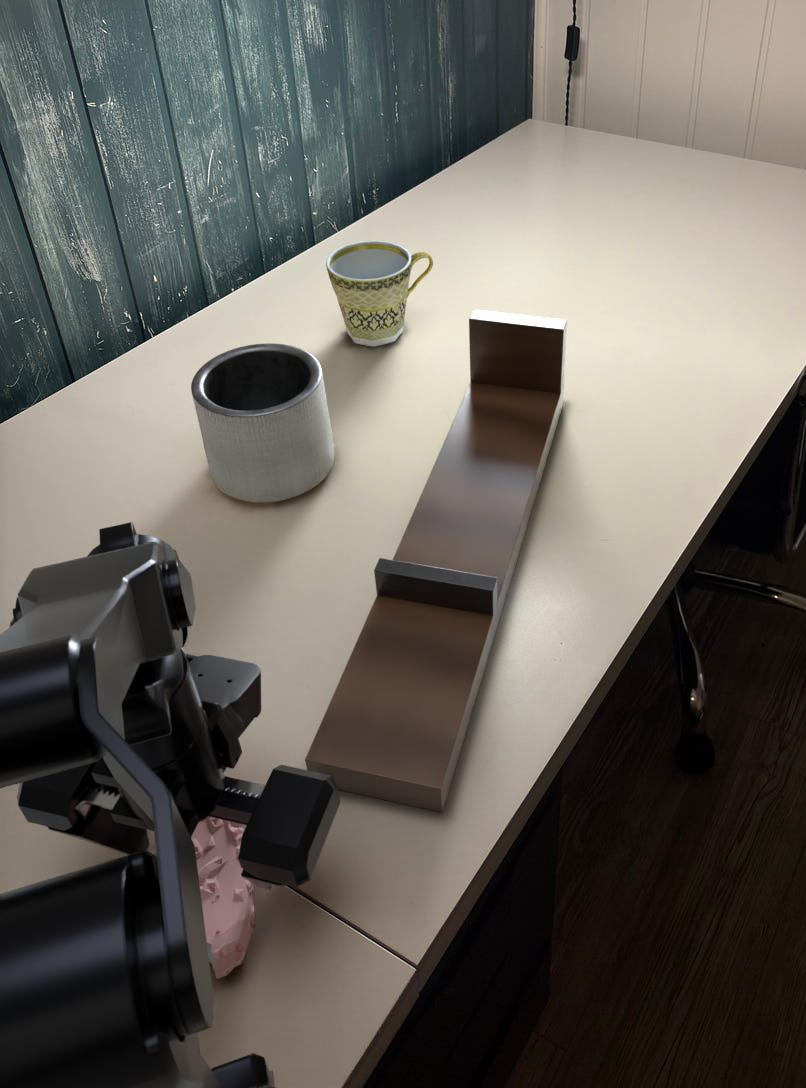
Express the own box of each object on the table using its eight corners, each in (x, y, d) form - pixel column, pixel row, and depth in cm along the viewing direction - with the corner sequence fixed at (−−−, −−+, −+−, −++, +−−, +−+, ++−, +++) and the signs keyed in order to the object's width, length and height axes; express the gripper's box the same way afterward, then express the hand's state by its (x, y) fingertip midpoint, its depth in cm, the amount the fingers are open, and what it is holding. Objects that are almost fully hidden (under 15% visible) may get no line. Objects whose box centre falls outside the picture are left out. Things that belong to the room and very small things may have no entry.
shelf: (442, 812, 67) (435, 719, 60) (310, 783, 69) (288, 689, 62) (562, 405, 105) (567, 319, 98) (475, 394, 107) (473, 309, 100)
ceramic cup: (349, 362, 112) (341, 287, 106) (324, 322, 119) (315, 250, 113) (450, 337, 116) (448, 263, 110) (420, 300, 123) (416, 229, 117)
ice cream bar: (241, 738, 67) (255, 943, 56) (249, 774, 70) (264, 976, 59) (150, 757, 66) (145, 970, 55) (161, 792, 69) (159, 1003, 57)
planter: (185, 478, 96) (161, 388, 89) (272, 416, 104) (256, 329, 97) (276, 525, 90) (257, 433, 83) (360, 455, 98) (350, 366, 91)
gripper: (358, 646, 57) (378, 789, 67) (83, 594, 61) (141, 737, 71) (285, 811, 49) (321, 947, 59) (-28, 740, 53) (55, 879, 62)
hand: (206, 867), depth 63 cm, fingers open, 9 cm apart
